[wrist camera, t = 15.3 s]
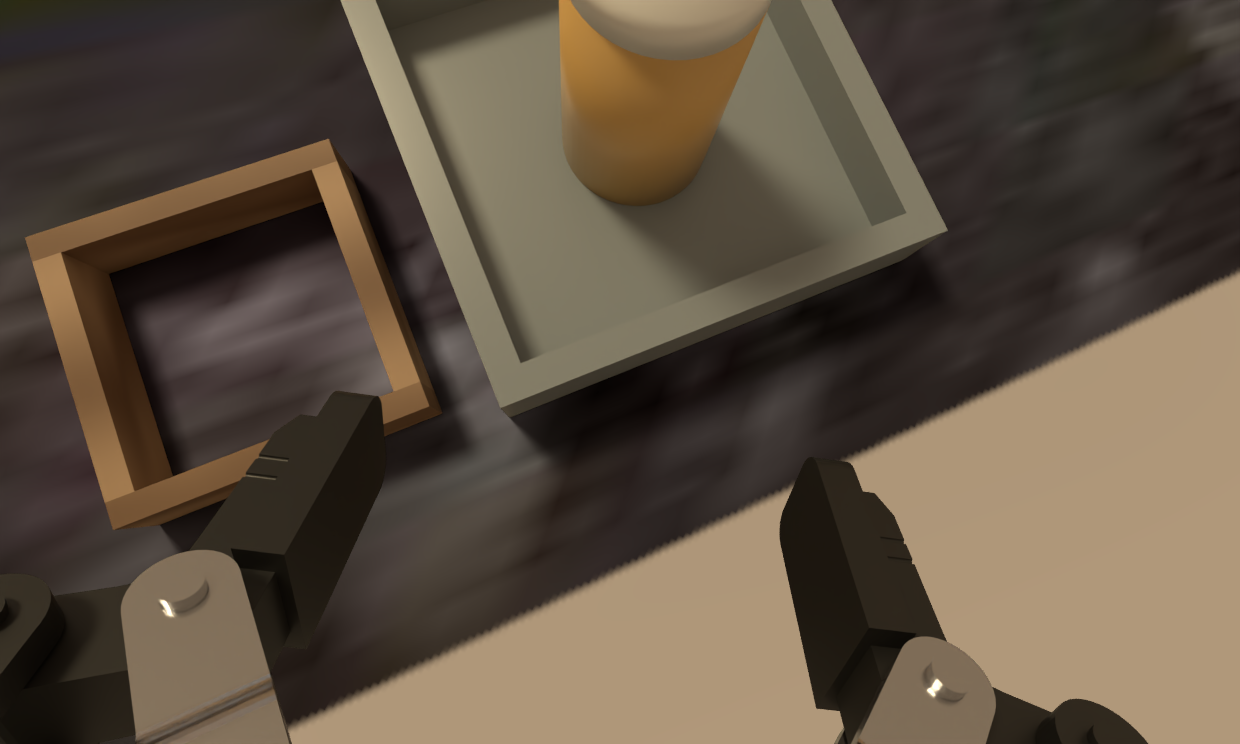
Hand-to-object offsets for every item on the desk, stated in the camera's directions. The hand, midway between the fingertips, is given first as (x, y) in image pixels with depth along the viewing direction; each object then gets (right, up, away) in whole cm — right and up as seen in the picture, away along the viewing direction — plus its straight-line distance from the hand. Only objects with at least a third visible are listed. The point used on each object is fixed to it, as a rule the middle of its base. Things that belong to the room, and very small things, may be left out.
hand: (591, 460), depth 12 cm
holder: (-11, +3, +9) cm, 14 cm away
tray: (+1, +10, +11) cm, 15 cm away
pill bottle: (+1, +10, +10) cm, 14 cm away
